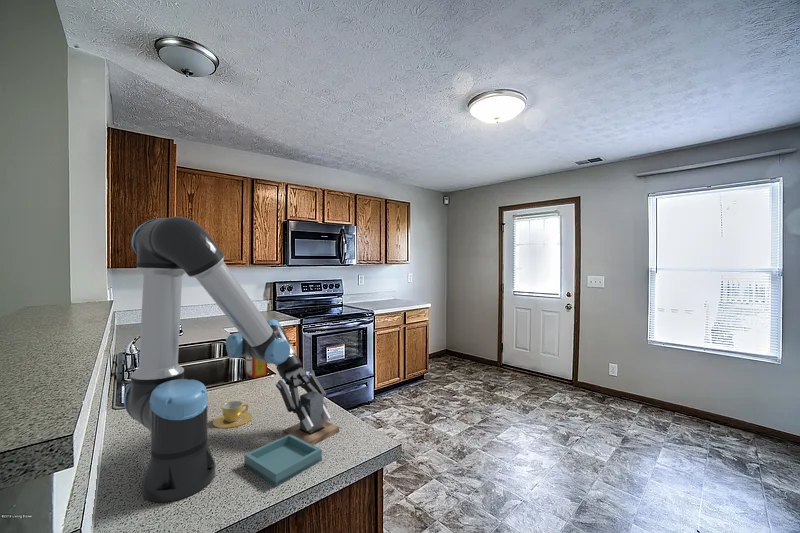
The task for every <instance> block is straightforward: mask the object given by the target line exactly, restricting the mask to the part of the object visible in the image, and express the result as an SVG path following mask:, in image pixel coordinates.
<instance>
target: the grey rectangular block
mask: <svg viewBox="0 0 800 533" xmlns="http://www.w3.org/2000/svg"><path fill="white" fill-rule="evenodd" d="M299 399H300V404H301V407H300V408H302V407H304V408H305V410H306V412H307V414H308V416H309V418H310V420H311V422H312V424H313V427H312V428H311V429H310V430H309V431H307V429H306V427H305V425H304V423H303V421H300V420H299V423H300V431H302V432H304V433H306V434H309V435H312V434H314V433H316V432H318V431H320V430H322V429H323V401H324V398H323V394H320V393H317V392H314V391H311V392H309V393H307V392H306V393H304V394H299Z"/></svg>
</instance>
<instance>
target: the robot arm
mask: <svg viewBox="0 0 800 533" xmlns="http://www.w3.org/2000/svg"><path fill="white" fill-rule="evenodd" d="M131 246H132V250H133V251H134V253H135V254H136V255H137V257H136V270H138V271H139V272H140V273H141V274H142V275H143V276H142V279H143V280H142V282H143V283H142V301H141V302H142V304H141V318H140V319H141V320H140V322H141V323H140V338H139V339H140V340H139V341H140V342H139V343H140V344H139V360H138V361H139V362H138V368H137V369H136V370H135V371H133V372H132V373H131V376H130V378H131V379H130V385H128V387H127V389H126V390H125V393H124V397H123V406H124V408H125V410H126V412H127V413H128V415H129V416H130V417H131V418H132V419H133V420H135V421H136V422H137V423H139V424H141V425H142V426H143V427H144V428H146V429H147V430H149V431H150V458H149V461H148V465H147V468H146V469H145V470H146V471H145V474H144V475H143V479H142V482H141V495H142V497H143V498H144V499H145V500H147V501H148V502H149V501H150V502H153V503H169V502H174V501H178V500H181V499H185V498H187V497H190V496H193V495H194V494H196V493H198V492H200V491H201V490H203V489H204V488H207V486H208V485H209V484H211V482H213V480H214V479H215V476H216V462H215V459H214V457H213V454H212V451H211V450H210V447H209V444H208V403H209V396H208V390H207V387H206V385H205V384H204V383H203V382H201V381H199V380H196V379H192V378H191V379H188V378H185V368H184V367H182V366H181V365H180V364H179V350H180V349H179V348H180V346H179V345H180V327H181V325H180V324H181V310H182V309H181V308H182V287H183V286H182V285H183V283H182V282H183V276H184V275H185V274H187V276H188V277H189V278H195V279H196V280H197V281H198V283H199V284H200V285H201V286H202V287H203V289H205V292H206V293H207V294H208V295H209V296H210V297H211V298H212V300H213V302H214V303H215V304H216V305H217V306H218V307H219V309H220V310H221V311H222V312H223V314H224V315H225V316H226V318H228V320H229V321H230V322H231V324H232V325H233V326H234V328H235V329H236V331H238V332H235V333H231V334H229V335H228V336H227V338H226V342H225V349H226V353H227V354H228V356H229V357H231V358H232V359H235V358H242V357H245V356H248V357H251V358H255V359H258V360H261V361H264V362H267V364H268V365H269V364H271V365H274V366H275V367H276V370H277V372H278V374H279V376H280V377H281V379H279V380H278V381H277V382H276V384H275V387H276V388H277V390H278V391H279V392H280V395H281V398H282V400H283V402H284V405H285V407H286V410H287V412H288V413H291V412H292V413H293V414H296V416H297V418H298V420H299V422H300V421H303V423H304V425H305V427H306V429H307V431H309V430H310V429H311V428H312V427H313V424H312V422H311V420H310V418H309V416H308V414H307V412H306V410H305V408H304V407H302V408H300V407H301V404H300V393H299V390H298V388H299V387H300V388H301V389H304V391H305V392H306V393H309V392H311V391H314V392H317V393H320V394H323V399H324V398H325V397H326V395H327V393H326V391H325V389H324V387H323V386H322V385H321V383H320V382H319V380H318V379H317V377H316V374H315V371H314V370H313V369H311V370H310V371H307V370H305V369H304V368H303V363H302V361H301V359H300V358H299V356H298V354H297V351H296V350H295V348H294V347H293V345H292V343H291V341H290V339H289V337H288V335H287V333H286V331H285V329H284V327H283V326H282V324H281V323H280V322H279V321H278V320H277V319H274V318H273V319H268V320H266V318H265V317H264V315H263V314H262V313H261V311H260V310H259V309H258V307H257V306H256V304H255V303H254V302H253V300H252V299H251V298H250V296H249V295H248V293H247V292H246V290H245V289H244V288H243V287H242V285H241V284H240V283H239V281H238V279H237V277H236V276H234V274H233V273H232V271H231V270H230V269H229V267H228V265H227V264H226V263H225V255H224V253H223V251H222V250H221V249H220V248H219V246H218V245H217V243H216V242H215V241H214V239H213V238H212V237H211V236H210V234H209V233H208V232H207V231H206V230H205V228H203V227H202V226H201V225H200V224H199V223H197V222H196V221H194V220H193V219H190V218H187V217H184V216H168V217H163V218H162V217H160V218H153V219H150V220H147V221H145V222H144V223H142V224H141V225H139V226H138V227H137V228H136V229H135V230H134V232H133V234H132V238H131ZM327 408H328V407H327V404H326V403H325V401H324V400H323V420H324V422H325V423H326V422H329V420H330V419H331V416H330V413H329V412H328V410H327Z"/></svg>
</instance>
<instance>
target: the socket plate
mask: <svg viewBox="0 0 800 533" xmlns="http://www.w3.org/2000/svg"><path fill="white" fill-rule="evenodd" d="M282 433H283V436H286V435H288V434H291V435H293V436H295V437H297V438H299V439H301V440H303V441H305V442H307V443H309V444H312V445H314V446H315V445H317V444H318V443H321V442H323V441H324V440H326V439H328V438H330V437H332V436H333V435H335V434H337V433H340V426H338V425H336V424H333V423H331V422H329V421H327V422H326V423H325V422H324V420H323V429H322V430H320V431H318V432H316V433H314V434H312V435H309V434H306V433H304V432H302V431H300V422H298V423H296V424H293V425H291V426H290V427H287V428H285V429H283V432H282Z"/></svg>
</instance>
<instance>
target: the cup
mask: <svg viewBox="0 0 800 533" xmlns="http://www.w3.org/2000/svg"><path fill="white" fill-rule="evenodd" d="M244 407H245V409H244ZM248 410H249V405H248V403H244V402H242V401H240V400H232V401H228V402H225V403H223V404H222V405H221V411H222V415H219V416H218V417H216V418H215V419H214V420H213V421H212V426H214V427H215V428H219V429H220V428H221V429H229V428H230V429H231V428H236V427H239V426H243V425H245V424H247V423H249V422H250V421H251V420H252V419H253V415H252V413H251V412H248ZM240 417H241V418H242V419H241V420H240V419H239V418H240ZM238 420H239V421H238ZM224 421H226V422H229V423H224ZM236 421H238V422H236ZM235 422H236V423H235Z"/></svg>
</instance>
